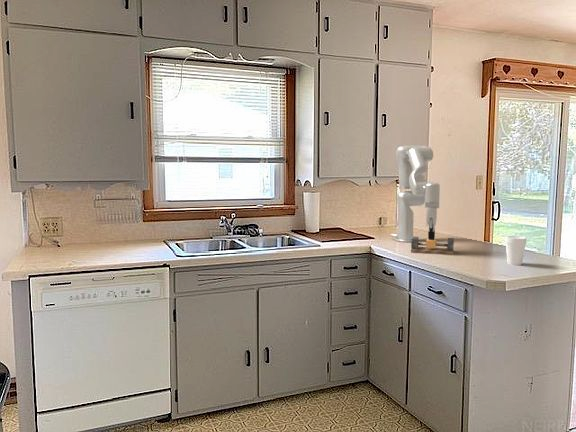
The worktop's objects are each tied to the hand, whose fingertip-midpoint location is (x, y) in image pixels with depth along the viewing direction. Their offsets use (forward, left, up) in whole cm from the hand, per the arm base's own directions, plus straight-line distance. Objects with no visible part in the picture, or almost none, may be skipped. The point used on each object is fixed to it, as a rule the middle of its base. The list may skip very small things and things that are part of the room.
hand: (431, 238), depth 265 cm
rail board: (+1, 0, -8) cm, 8 cm away
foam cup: (+41, -21, -8) cm, 46 cm away
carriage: (0, 0, -5) cm, 5 cm away
